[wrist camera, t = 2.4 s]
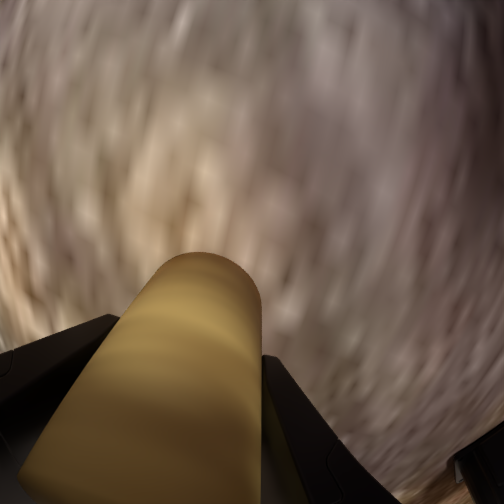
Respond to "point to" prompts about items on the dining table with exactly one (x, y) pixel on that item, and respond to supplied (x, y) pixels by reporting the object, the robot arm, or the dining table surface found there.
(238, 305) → the peg
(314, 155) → the dining table surface
